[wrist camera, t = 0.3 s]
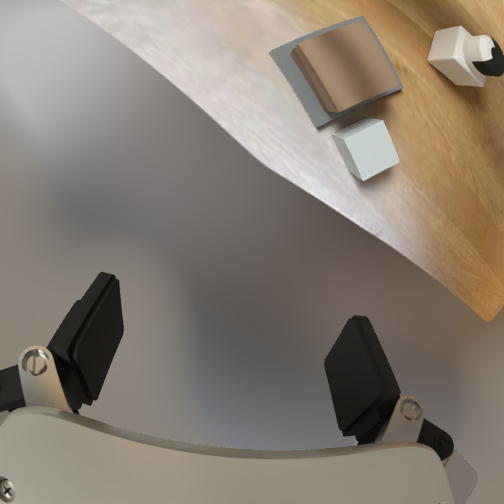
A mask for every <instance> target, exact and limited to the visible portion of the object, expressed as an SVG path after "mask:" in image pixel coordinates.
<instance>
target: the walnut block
mask: <svg viewBox="0 0 504 504" xmlns="http://www.w3.org/2000/svg"><path fill="white" fill-rule="evenodd" d="M290 55H291V57H292V58H293V60H294V61H295V63H296V64H297V66H298V67H299V69H300V70H301V72H302V74H303V75H304V77H305V78H306V80H307V82H308V83H309V85H310V87H311V88H312V90H313V92H314V93H315V95H316V97H317V99H318V100H319V102H320V104H321V106H322V107H323V109H324V111H328V112H341V111H343V110H345V109H347V108H349V107H351V106H354V105H356V104H358V103H360V102H362V101H364V100H367V99H369V98H371V97H373V96H376V95H378V94H380V93H383V92H385V91H387V90H390V89H392V88H395V87H397V86H400V85H399V83H398V81H397V79H396V77H395V75H394V73H393V71H392V69H391V67H390V65H389V63H388V61H387V59H386V57H385V56H384V54H383V52H382V50H381V48H380V47H379V45H378V43H377V41H376V40H375V38H374V36H373V35H372V33H371V32H370V30H369V28H368V27H367V25H366V24H365V22H364V21H363V20H362V21H359V22H356V23H352V24H349V25H346V26H343V27H340V28H337V29H334V30H331V31H329V32H326V33H323V34H321V35H318V36H316V37H313V38H311V39H308V40H306V41H303V42H301V43H299V44H297V45H296V47H295V48H294V49H293V50H292V52H291V53H290Z"/></svg>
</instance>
